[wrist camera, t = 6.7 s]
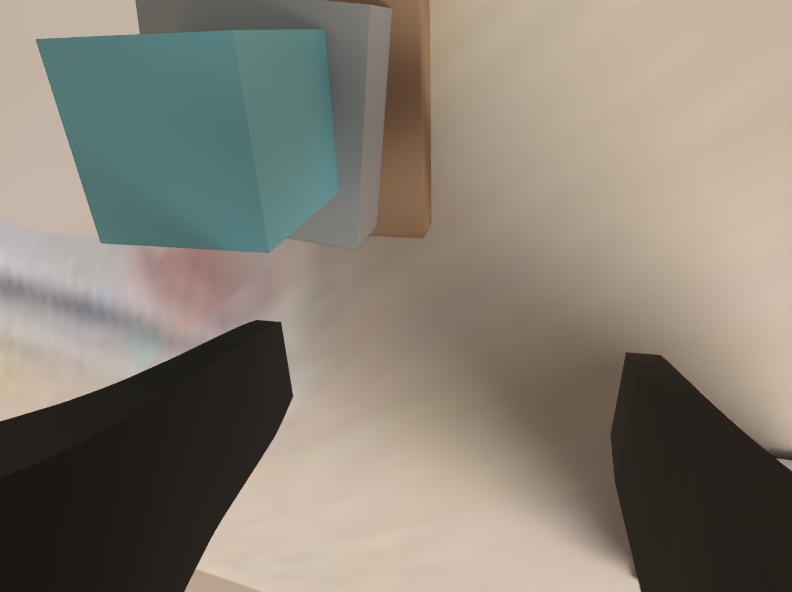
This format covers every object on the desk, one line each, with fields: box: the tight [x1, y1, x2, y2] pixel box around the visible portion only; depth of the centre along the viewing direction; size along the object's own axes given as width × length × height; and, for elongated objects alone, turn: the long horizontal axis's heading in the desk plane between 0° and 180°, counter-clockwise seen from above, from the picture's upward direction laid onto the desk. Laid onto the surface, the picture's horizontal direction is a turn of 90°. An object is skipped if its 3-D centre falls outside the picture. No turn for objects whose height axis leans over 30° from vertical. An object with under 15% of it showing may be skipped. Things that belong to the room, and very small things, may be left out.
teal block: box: [36, 29, 339, 253], centre depth 13 cm, size 4×4×5 cm
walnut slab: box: [326, 0, 431, 238], centre depth 19 cm, size 9×9×2 cm
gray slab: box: [136, 0, 392, 250], centre depth 17 cm, size 7×7×2 cm
